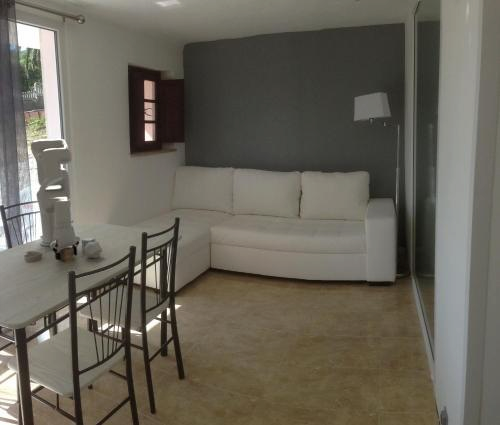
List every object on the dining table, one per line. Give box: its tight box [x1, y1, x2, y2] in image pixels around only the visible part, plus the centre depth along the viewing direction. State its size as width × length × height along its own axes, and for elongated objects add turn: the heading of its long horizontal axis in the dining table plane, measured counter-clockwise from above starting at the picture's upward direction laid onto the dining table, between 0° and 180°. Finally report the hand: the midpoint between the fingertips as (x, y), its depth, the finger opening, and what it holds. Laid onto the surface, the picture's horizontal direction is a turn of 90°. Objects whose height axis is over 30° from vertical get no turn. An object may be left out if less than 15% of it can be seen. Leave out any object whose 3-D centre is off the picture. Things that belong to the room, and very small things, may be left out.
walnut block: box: [59, 246, 75, 263], centre depth 242 cm, size 5×5×6 cm
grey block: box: [81, 237, 96, 252], centre depth 259 cm, size 5×5×6 cm
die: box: [83, 241, 103, 259], centre depth 246 cm, size 8×9×10 cm
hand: (66, 257), depth 242 cm, fingers open, 9 cm apart
